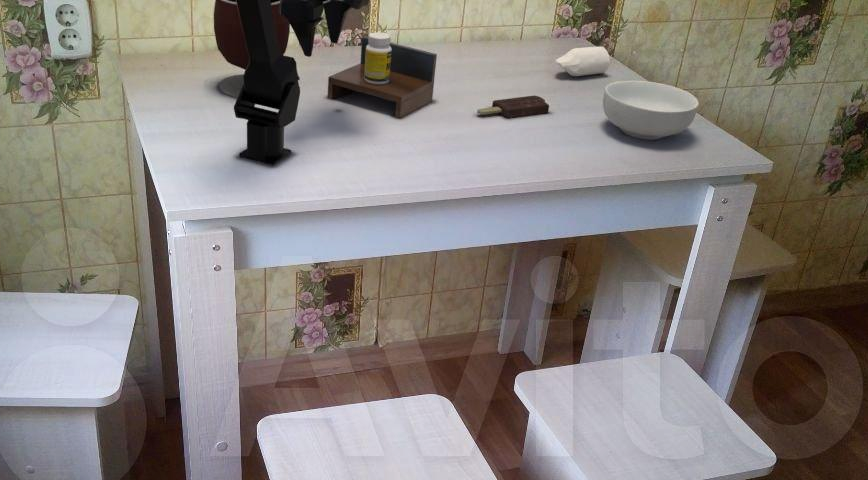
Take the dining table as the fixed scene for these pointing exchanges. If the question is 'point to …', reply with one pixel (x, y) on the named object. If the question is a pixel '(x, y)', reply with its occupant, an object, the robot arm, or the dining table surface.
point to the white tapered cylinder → (585, 61)
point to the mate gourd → (240, 39)
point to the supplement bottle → (378, 58)
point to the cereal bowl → (648, 108)
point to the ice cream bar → (517, 106)
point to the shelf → (392, 79)
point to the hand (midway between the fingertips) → (321, 49)
